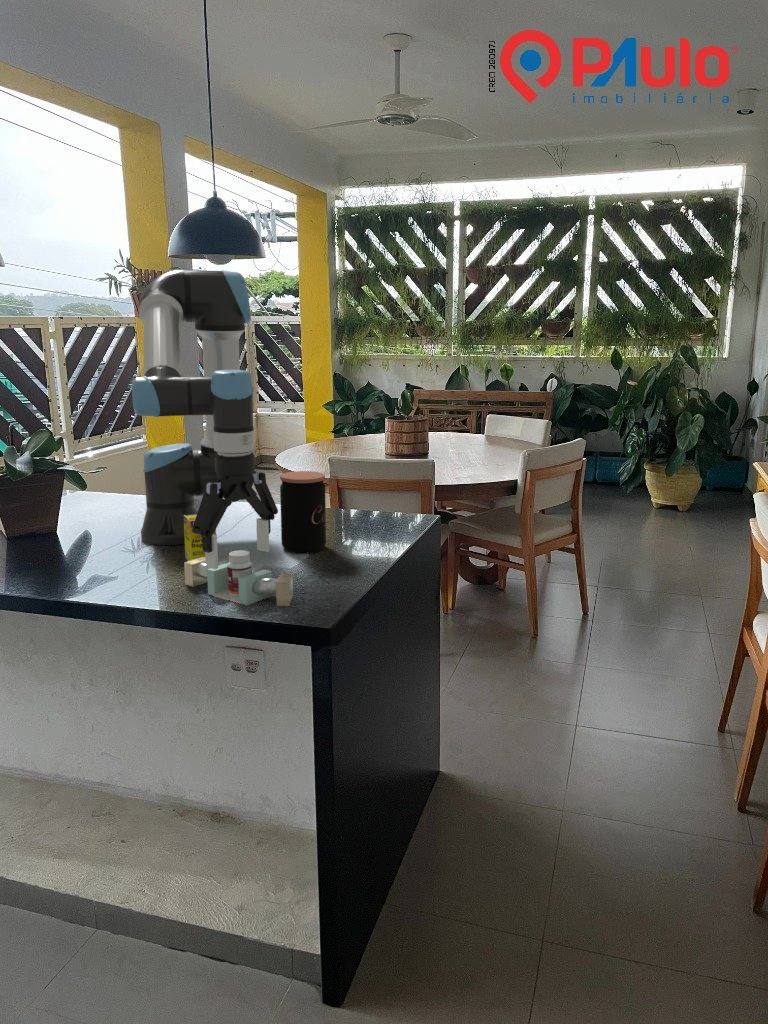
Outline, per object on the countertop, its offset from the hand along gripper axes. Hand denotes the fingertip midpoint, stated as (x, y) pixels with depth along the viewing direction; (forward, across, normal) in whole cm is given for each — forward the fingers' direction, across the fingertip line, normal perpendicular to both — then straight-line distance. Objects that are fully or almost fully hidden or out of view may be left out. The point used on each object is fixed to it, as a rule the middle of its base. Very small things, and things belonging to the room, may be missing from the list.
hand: (238, 558), depth 151 cm
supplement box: (+8, +9, +22) cm, 25 cm away
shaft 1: (+8, 0, +9) cm, 12 cm away
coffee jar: (+8, +32, +12) cm, 35 cm away
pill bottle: (+7, 0, -1) cm, 7 cm away
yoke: (+7, 0, -1) cm, 7 cm away
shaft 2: (+7, +1, -8) cm, 11 cm away
